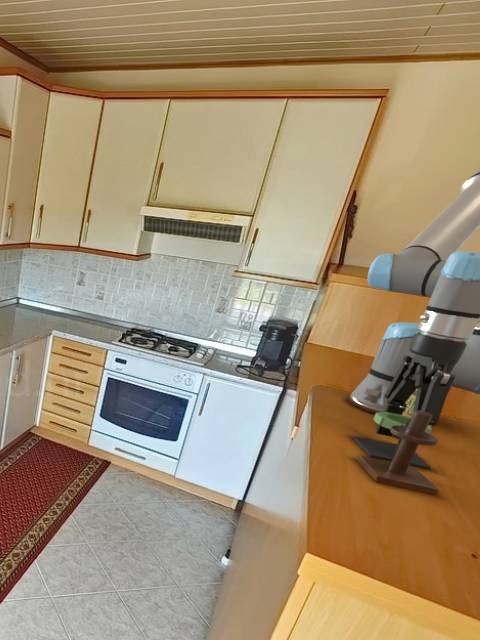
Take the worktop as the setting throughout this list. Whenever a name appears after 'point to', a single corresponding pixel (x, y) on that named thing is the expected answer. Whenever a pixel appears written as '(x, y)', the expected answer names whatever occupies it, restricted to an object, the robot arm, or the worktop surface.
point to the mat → (386, 451)
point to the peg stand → (404, 457)
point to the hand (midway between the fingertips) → (393, 443)
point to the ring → (393, 420)
